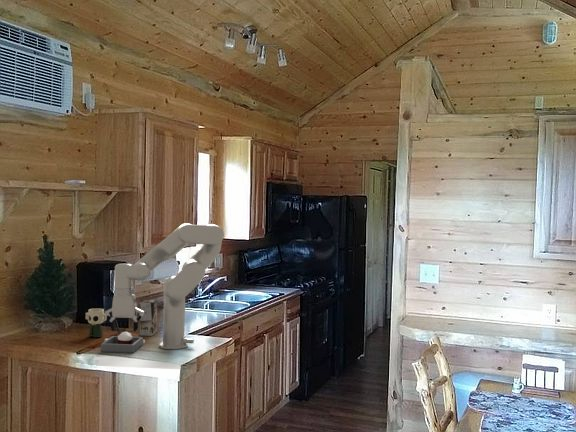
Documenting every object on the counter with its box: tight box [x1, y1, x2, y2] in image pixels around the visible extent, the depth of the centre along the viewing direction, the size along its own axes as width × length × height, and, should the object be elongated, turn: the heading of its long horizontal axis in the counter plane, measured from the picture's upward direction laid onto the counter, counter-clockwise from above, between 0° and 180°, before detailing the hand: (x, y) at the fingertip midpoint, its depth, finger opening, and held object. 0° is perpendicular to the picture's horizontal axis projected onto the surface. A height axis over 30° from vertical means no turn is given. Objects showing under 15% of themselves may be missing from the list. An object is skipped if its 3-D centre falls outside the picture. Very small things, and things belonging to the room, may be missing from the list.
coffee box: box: [139, 299, 158, 337], centre depth 300 cm, size 9×6×16 cm
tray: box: [100, 335, 144, 354], centre depth 271 cm, size 14×15×4 cm
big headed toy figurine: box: [85, 308, 108, 338], centre depth 290 cm, size 11×7×13 cm, turn 76°
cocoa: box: [115, 318, 135, 345], centre depth 270 cm, size 10×6×12 cm, turn 70°
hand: (124, 330), depth 271 cm, fingers open, 9 cm apart
